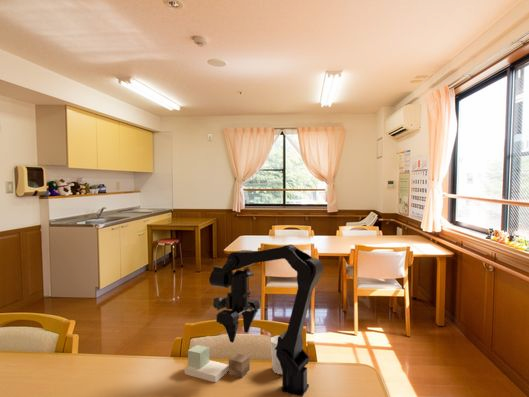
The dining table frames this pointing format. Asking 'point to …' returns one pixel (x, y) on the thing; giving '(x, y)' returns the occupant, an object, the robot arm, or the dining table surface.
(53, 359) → the dining table surface
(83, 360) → the dining table surface
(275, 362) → the white cup
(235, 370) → the walnut cube
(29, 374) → the dining table surface
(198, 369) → the l-shaped block
